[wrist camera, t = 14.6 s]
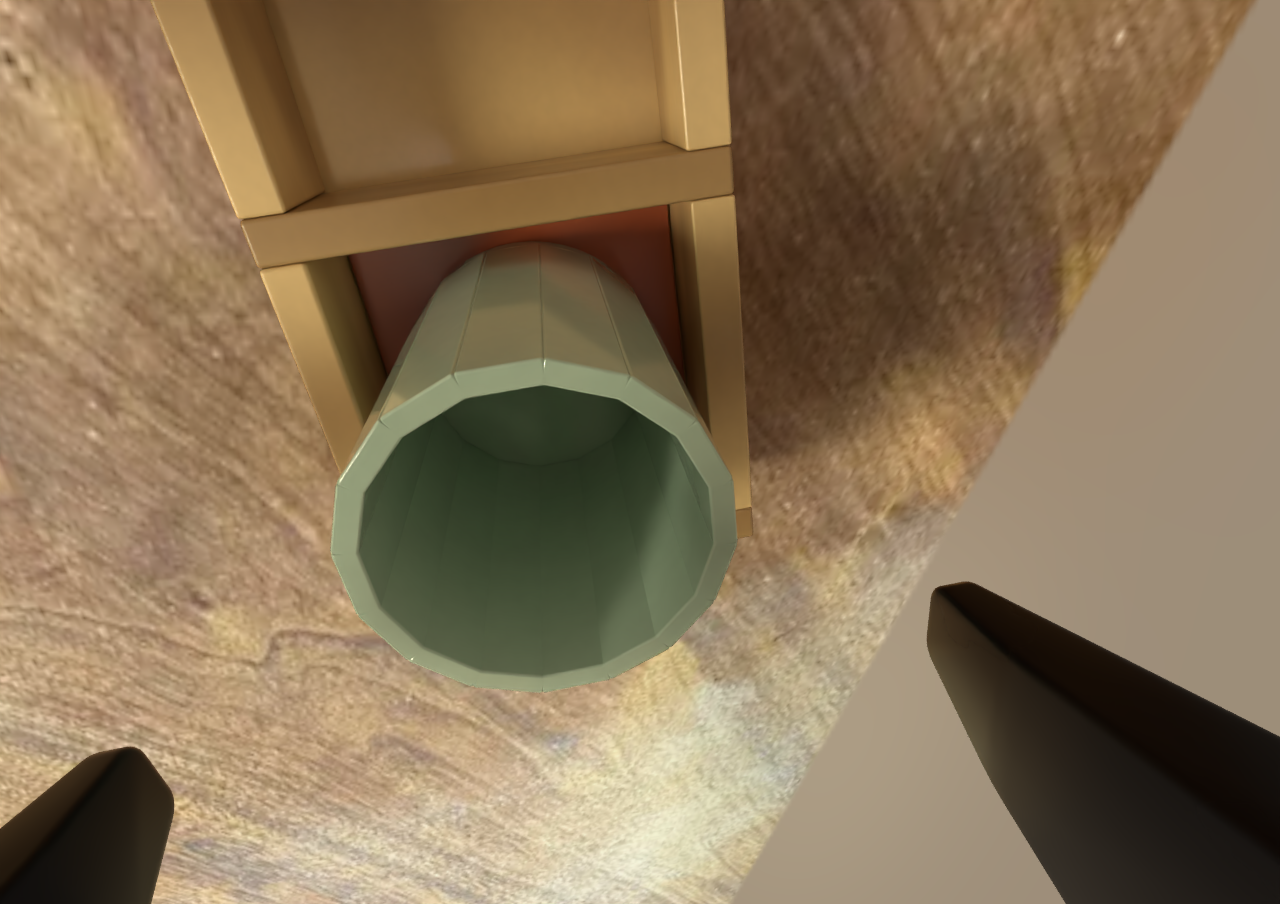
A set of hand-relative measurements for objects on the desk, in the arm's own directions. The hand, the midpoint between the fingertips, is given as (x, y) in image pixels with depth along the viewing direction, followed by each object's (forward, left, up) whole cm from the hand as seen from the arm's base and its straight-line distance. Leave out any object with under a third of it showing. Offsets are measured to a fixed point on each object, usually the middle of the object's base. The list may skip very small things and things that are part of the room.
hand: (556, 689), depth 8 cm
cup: (+1, 0, -9) cm, 9 cm away
